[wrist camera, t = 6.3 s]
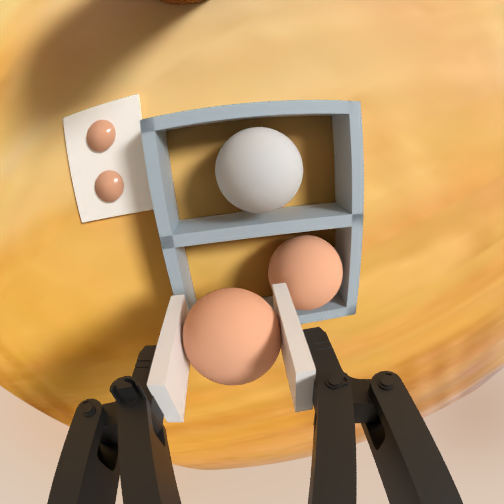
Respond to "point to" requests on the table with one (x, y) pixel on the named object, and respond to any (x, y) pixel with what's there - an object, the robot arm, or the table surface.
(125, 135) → the tile
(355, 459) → the robot arm
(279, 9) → the table surface
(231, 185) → the ball grey
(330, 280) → the terracotta ball
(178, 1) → the disposable coffee cup
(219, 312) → the terracotta ball
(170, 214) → the rack
